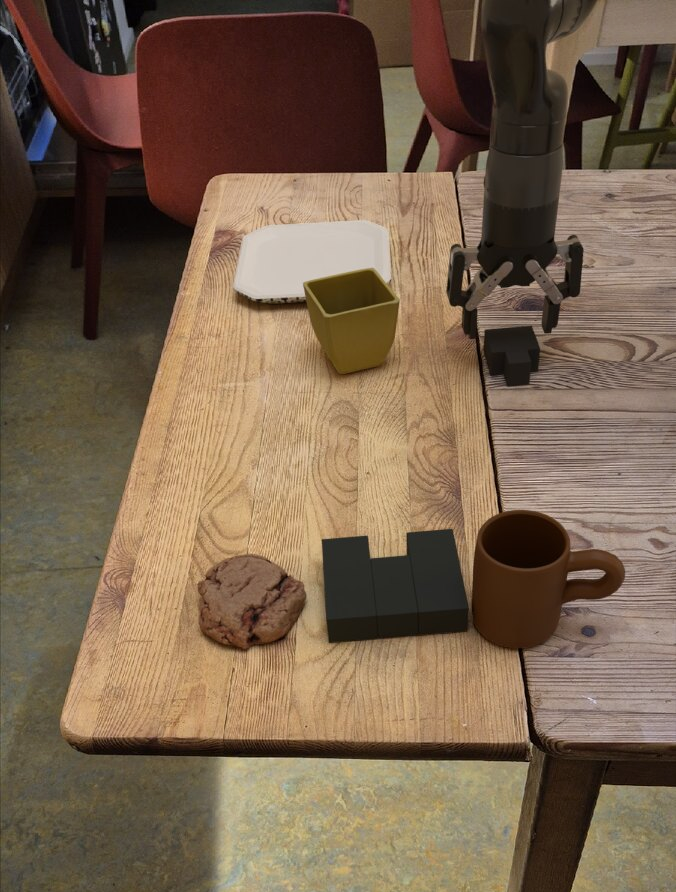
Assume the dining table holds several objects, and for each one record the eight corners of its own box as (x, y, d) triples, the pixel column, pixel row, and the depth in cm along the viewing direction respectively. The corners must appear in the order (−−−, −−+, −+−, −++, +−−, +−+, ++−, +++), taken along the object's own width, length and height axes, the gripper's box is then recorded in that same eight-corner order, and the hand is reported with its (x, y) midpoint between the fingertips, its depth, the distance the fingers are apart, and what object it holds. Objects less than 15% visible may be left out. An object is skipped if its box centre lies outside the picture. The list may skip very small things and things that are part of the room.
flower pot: (376, 334, 114) (373, 265, 107) (402, 370, 108) (401, 299, 101) (308, 351, 112) (301, 281, 106) (331, 388, 106) (325, 317, 100)
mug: (615, 603, 81) (633, 522, 74) (607, 669, 76) (626, 589, 69) (479, 581, 84) (484, 501, 77) (462, 643, 79) (466, 564, 72)
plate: (389, 232, 132) (388, 217, 131) (392, 306, 118) (391, 290, 117) (246, 240, 134) (244, 225, 132) (232, 314, 119) (229, 298, 118)
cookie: (262, 551, 88) (258, 528, 86) (327, 614, 82) (325, 590, 80) (171, 600, 84) (165, 577, 82) (233, 670, 78) (228, 647, 76)
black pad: (529, 348, 109) (531, 325, 107) (542, 383, 104) (545, 360, 102) (483, 352, 109) (484, 329, 107) (493, 387, 104) (495, 364, 102)
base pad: (452, 552, 86) (452, 528, 84) (467, 631, 80) (469, 608, 77) (324, 562, 87) (321, 538, 84) (328, 643, 80) (326, 619, 78)
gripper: (457, 210, 90) (451, 356, 102) (602, 199, 90) (579, 345, 102) (446, 179, 96) (441, 320, 107) (583, 168, 96) (563, 311, 107)
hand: (508, 332), depth 105 cm, fingers open, 8 cm apart
